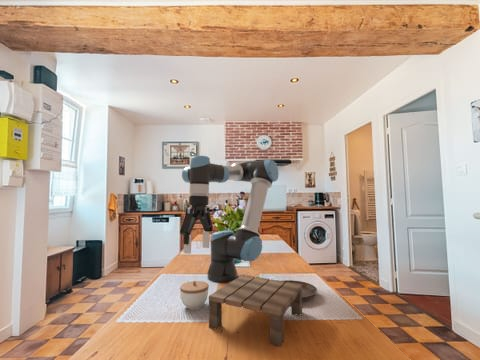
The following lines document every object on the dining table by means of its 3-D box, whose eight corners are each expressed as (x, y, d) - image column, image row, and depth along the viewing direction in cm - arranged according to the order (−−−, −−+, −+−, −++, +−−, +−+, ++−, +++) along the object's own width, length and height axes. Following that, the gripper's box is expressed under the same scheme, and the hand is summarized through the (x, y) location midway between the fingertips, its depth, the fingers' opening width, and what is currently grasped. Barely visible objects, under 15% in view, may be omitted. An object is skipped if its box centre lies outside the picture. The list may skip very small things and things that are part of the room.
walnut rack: (242, 300, 108) (242, 274, 108) (302, 312, 97) (301, 284, 97) (208, 327, 87) (208, 295, 87) (280, 346, 76) (279, 310, 76)
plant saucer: (259, 290, 119) (258, 282, 119) (299, 284, 126) (299, 277, 126) (281, 309, 100) (281, 300, 100) (327, 301, 107) (327, 292, 107)
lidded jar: (197, 298, 110) (197, 274, 111) (214, 305, 103) (214, 281, 103) (174, 306, 103) (174, 281, 103) (190, 315, 95) (190, 288, 96)
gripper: (206, 196, 119) (204, 244, 117) (171, 194, 96) (168, 254, 94) (221, 196, 116) (220, 246, 114) (189, 194, 93) (187, 257, 91)
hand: (197, 250), depth 104 cm, fingers open, 13 cm apart
